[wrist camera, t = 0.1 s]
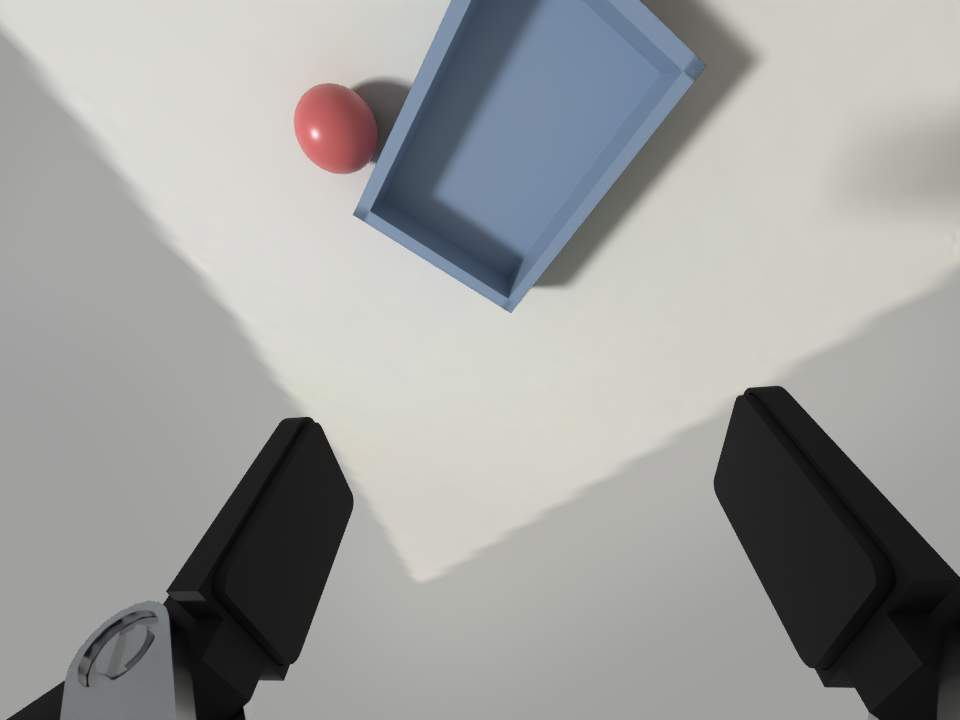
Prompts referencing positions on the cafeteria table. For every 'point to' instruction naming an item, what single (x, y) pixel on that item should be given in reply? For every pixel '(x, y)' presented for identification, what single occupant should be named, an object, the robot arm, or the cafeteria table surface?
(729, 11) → the cafeteria table surface
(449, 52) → the tub
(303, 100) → the red glossy sphere
